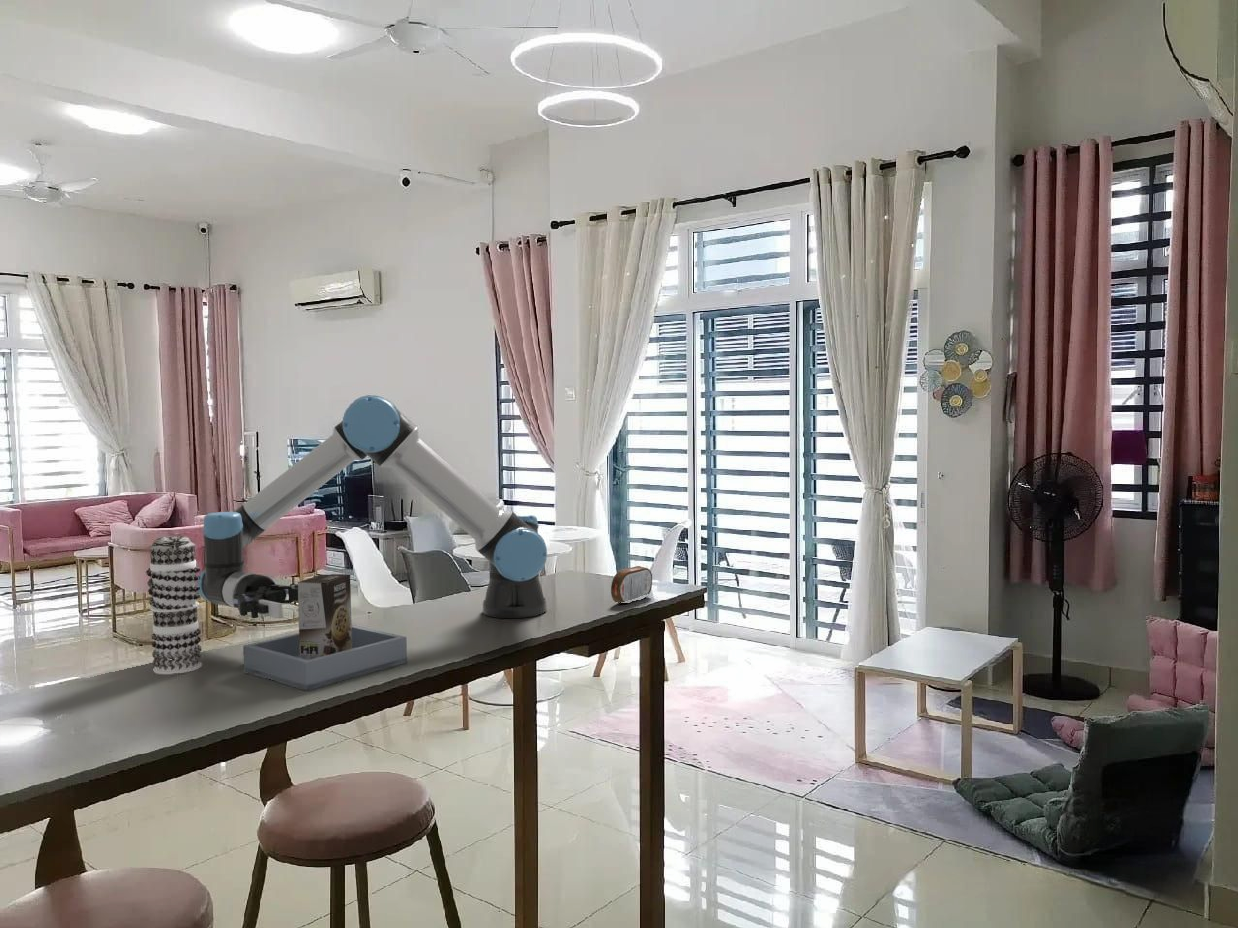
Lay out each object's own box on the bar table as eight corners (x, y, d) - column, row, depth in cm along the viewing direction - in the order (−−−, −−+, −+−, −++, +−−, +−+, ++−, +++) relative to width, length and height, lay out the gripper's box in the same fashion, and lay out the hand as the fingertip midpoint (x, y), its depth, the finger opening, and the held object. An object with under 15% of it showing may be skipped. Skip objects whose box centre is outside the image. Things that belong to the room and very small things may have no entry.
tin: (644, 595, 241) (644, 563, 240) (654, 596, 239) (654, 564, 238) (609, 606, 229) (609, 571, 228) (620, 607, 227) (619, 573, 226)
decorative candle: (179, 676, 173) (174, 541, 171) (139, 673, 175) (133, 540, 174) (214, 663, 181) (209, 535, 180) (175, 660, 184) (170, 533, 183)
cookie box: (330, 669, 173) (327, 582, 172) (298, 667, 174) (295, 581, 173) (354, 655, 182) (351, 573, 181) (323, 654, 183) (321, 572, 182)
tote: (343, 646, 192) (342, 622, 192) (407, 662, 180) (406, 636, 180) (244, 671, 175) (243, 645, 175) (306, 690, 163) (305, 662, 163)
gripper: (304, 599, 202) (366, 612, 189) (192, 621, 182) (253, 637, 169) (303, 565, 201) (365, 575, 188) (190, 583, 182) (251, 596, 169)
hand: (312, 604), depth 179 cm, fingers open, 13 cm apart
